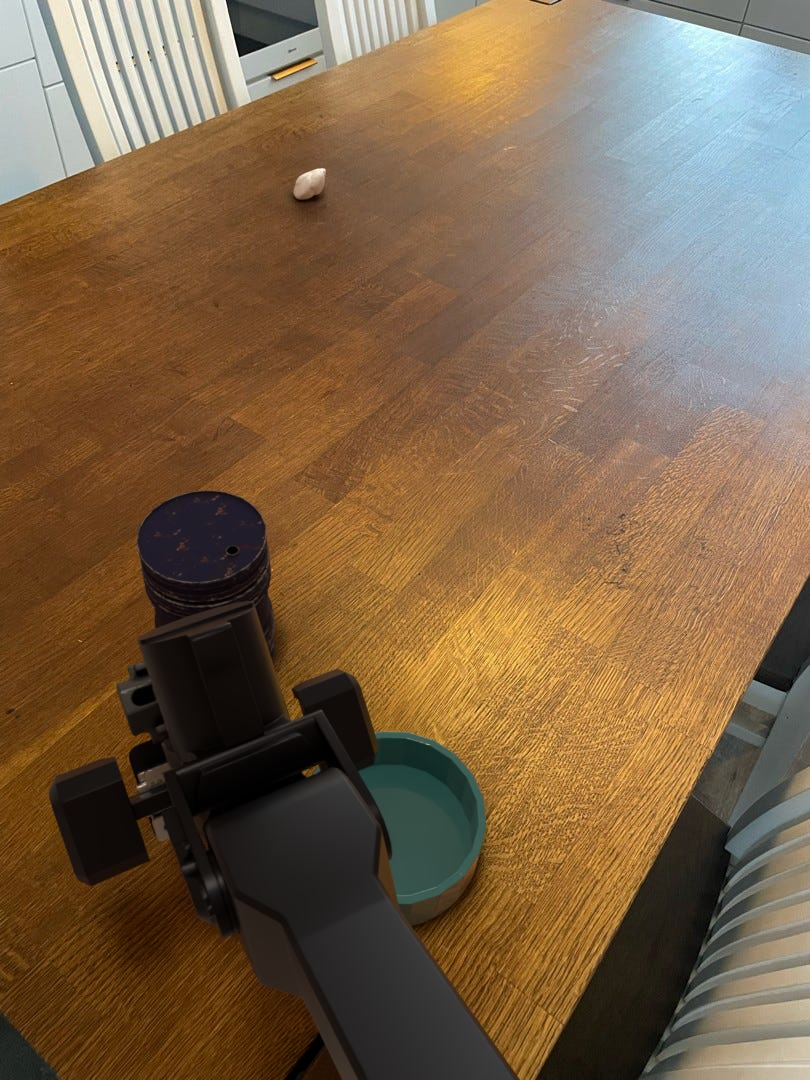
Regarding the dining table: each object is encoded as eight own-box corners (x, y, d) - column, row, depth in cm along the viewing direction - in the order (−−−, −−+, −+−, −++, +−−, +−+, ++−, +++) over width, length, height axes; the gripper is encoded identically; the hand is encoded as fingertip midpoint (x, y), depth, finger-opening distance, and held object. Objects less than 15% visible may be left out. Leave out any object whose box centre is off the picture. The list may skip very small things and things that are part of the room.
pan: (484, 929, 63) (493, 904, 60) (298, 928, 62) (296, 903, 59) (471, 762, 72) (478, 733, 69) (308, 759, 72) (308, 729, 68)
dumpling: (324, 207, 136) (318, 184, 132) (292, 208, 137) (285, 186, 134) (333, 179, 139) (327, 156, 136) (302, 181, 141) (295, 158, 137)
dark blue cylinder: (137, 663, 77) (106, 546, 66) (211, 591, 83) (193, 472, 72) (229, 718, 74) (212, 605, 63) (298, 638, 80) (294, 522, 69)
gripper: (363, 596, 49) (293, 588, 64) (10, 722, 42) (21, 681, 57) (421, 784, 50) (338, 734, 65) (84, 936, 43) (77, 842, 58)
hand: (201, 743), depth 61 cm, fingers closed on fennel bulb, 2 cm apart
